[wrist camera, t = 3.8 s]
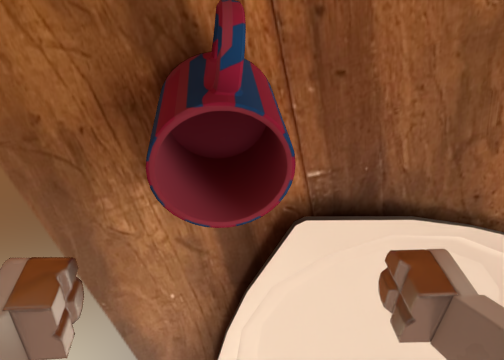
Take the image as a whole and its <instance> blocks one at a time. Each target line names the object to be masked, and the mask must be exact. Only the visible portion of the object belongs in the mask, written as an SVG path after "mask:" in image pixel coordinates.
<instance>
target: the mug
mask: <svg viewBox="0 0 504 360" xmlns="http://www.w3.org/2000/svg"><path fill="white" fill-rule="evenodd" d="M245 33H246V25H245V12H244V8H243V6H242V4H241V3H240V2H238V1H234V0H220V1H219V3H218V4H217V7H216V17H215V28H214V38H213V45H212V52H208V53H203V54H199V55H196V56H193V57H191V58H189V59H187V60H185V61H184V62H182V63H180V64H179V65H178V66H177V67H176V68H175V69H174V70H173V71H172V72H171V73H170V75H169V76H168V77H167V79H166V81H165V82H164V84H163V86H162V90H161V93H160V97H159V101H158V106H157V111H156V115H155V120H154V125H153V129H152V134H151V139H150V143H149V148H148V153H147V158H146V173H147V180H148V182H149V185H150V188H151V190H152V192H153V194H154V195H155V197H156V198H157V200H158V201H159V202H160V203H161V204H162V205H163V207H164V208H166V209H167V210H168V211H169V212H171V213H172V214H173V215H175V216H177V217H179V218H180V219H182V220H184V221H187V222H190V223H192V224H195V225H200V226H204V227H214V228H224V227H233V226H239V225H243V224H246V223H249V222H252V221H254V220H256V219H258V218H260V217H262V216H264V215H265V214H267V213H268V212H270V211H271V210H272V209H273V208H274V207H275V206H276V205H278V204H279V203H280V201H281V200H282V199H283V198H284V196H285V195H286V194H287V192H288V190H289V188H290V186H291V184H292V180H293V177H294V173H295V154H294V150H293V147H292V144H291V141H290V138H289V135H288V133H287V130H286V127H285V124H284V122H283V119H282V116H281V113H280V111H279V108H278V105H277V102H276V100H275V97H274V94H273V91H272V89H271V86H270V84H269V82H268V80H267V78H266V77H265V75H264V74H263V73H262V72H261V71H260V69H258V68H257V67H256V66H255V65H254V64H253V63H251V62H250V61H248V60H246V59H244V52H245Z"/></svg>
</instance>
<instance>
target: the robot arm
mask: <svg viewBox="0 0 504 360" xmlns="http://www.w3.org/2000/svg"><path fill="white" fill-rule="evenodd" d="M385 263H386V265H387V268H386V269H385V270H383V271H382V272H381V274H380V277H379V281H378V292H379V296H380V300H381V302H382V304H383V307H384V308H386V309H387V310H388V311H389V312H391V313H392V316H391V318H390V323H391V325H392V328H393V330H394V332H395V334H396V337H397V339H398V341H399V343H411V342H431V343H430V344H431V345H432V346H433V347H434V348H435V349H436V350H437V351H438V352H439V353H440V354H442V355H443V356H444V357H445V358H446V359H447V360H504V307H503V306H501V305H500V304H498V303H496V302H495V301H493V300H492V299H490V298H489V297H487V296H485V295H479V294H478V293H477V291H476V290H475V289H474V287H473V286H472V284H471V283H470V281H469V280H468V279H467V277H466V276H465V274H464V273H463V271H462V270H461V269H460V267H459V266H458V264H457V263H456V261H455V260H454V258H453V257H452V256H451V254H450V253H449V252H448V251H447V250H446V249H426V250H424V249H420V250H390V251H389V253H388V254H387V256H386V259H385ZM77 271H78V265H77V261H76V259H75V258H73V257H32V258H9V259H8V260H6V261H5V262H4V264H3V265H2V267H1V269H0V360H47V359H61V358H67V357H68V354H69V351H70V348H71V344H72V341H73V338H74V335H75V333H74V329H73V325H72V324H73V323H75V322H76V321H77V320H78V319H79V318H80V315H81V311H82V307H83V300H84V291H83V284H82V281H81V280H80V279H79V278H77V277H76V274H77Z"/></svg>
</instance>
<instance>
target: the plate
mask: <svg viewBox="0 0 504 360" xmlns="http://www.w3.org/2000/svg"><path fill="white" fill-rule="evenodd" d="M420 249H424V250H426V249H446V250H447V251H448V252H449V253H450V254H451V256H452V257H453V258H454V260H455V261H456V263H457V264H458V266H459V267H460V269H461V270H462V271H463V273H464V274H465V276H466V277H467V279H468V280H469V281H470V283H471V284H472V286H473V287H474V289H475V290H476V291H477V293H478V294H479V295H485V296H487V297H489V298H490V299H492V300H493V301H495V302H496V303H498V304H500V305H501V306H503V307H504V232H500V231H496V230H491V229H487V228H483V227H478V226H474V225H469V224H462V223H455V222H448V221H441V220H434V219H427V218H420V217H413V216H305V217H303V218H301V219H299V220H297V221H294V222H293V224H292V225H291V227H290V228H289V229H288V231H287V232H286V234H285V235H284V237H283V238H282V239H281V241H280V242H279V244H278V245H277V246H276V248H275V249H274V251H273V252H272V254H271V255H270V256H269V258H268V259H267V261H266V262H265V263H264V265H263V266H262V268H261V269H260V271H259V272H258V273H257V275H256V276H255V278H254V279H253V281H252V282H251V283H250V285H249V286H248V288H247V289H246V291H245V293H244V295H243V297H242V299H241V301H240V303H239V305H238V307H237V309H236V311H235V313H234V315H233V317H232V319H231V321H230V323H229V325H228V327H227V329H226V332H225V335H224V338H223V341H222V345H221V348H220V351H219V354H218V357H217V360H447V359H446V358H445V357H444V356H443V355H442V354H440V353H439V352H438V351H437V350H436V349H435V348H434V347H433V346H432V345H431V344H430V343H431V342H411V343H399V341H398V339H397V337H396V334H395V332H394V330H393V328H392V325H391V323H390V318H391V316H392V313H391V312H389V311H388V310H387V309H386V308H384V307H383V304H382V302H381V300H380V296H379V292H378V281H379V277H380V274H381V272H382V271H383V270H385V269H386V268H387V265H386V263H385V259H386V256H387V254H388V253H389V251H390V250H420Z"/></svg>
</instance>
